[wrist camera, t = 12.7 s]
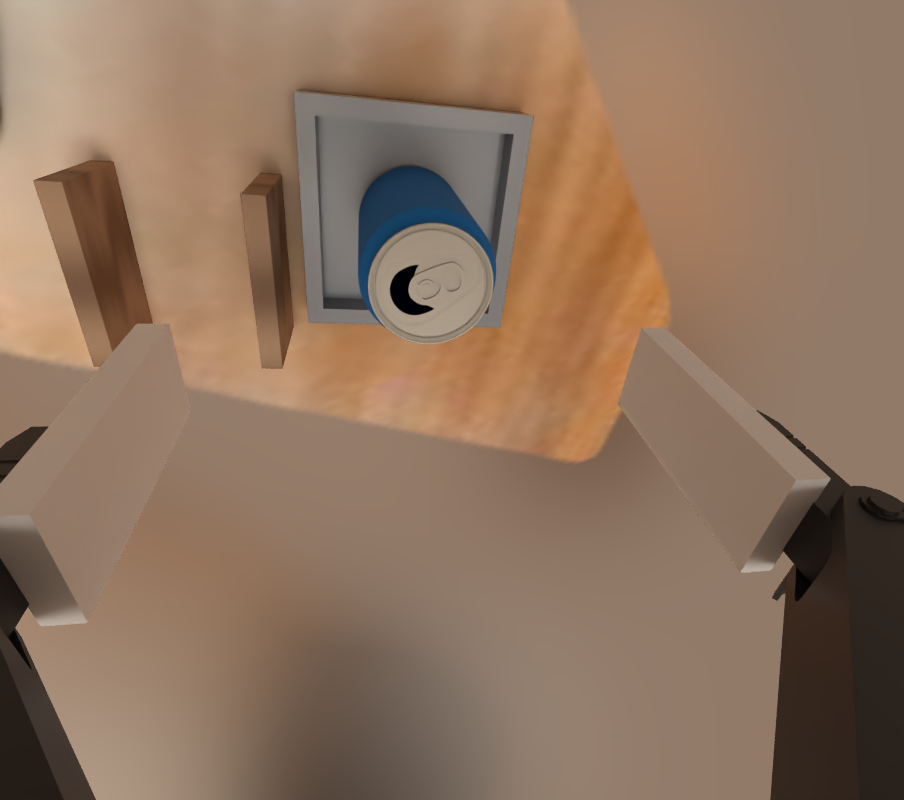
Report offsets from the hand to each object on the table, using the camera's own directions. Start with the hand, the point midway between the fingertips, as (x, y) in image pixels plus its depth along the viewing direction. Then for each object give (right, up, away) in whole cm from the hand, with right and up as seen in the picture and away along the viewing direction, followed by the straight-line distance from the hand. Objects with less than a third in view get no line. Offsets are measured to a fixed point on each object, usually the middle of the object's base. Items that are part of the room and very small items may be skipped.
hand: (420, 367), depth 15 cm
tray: (-2, +11, +18) cm, 21 cm away
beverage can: (-2, +11, +18) cm, 21 cm away
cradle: (-15, +8, +18) cm, 25 cm away
